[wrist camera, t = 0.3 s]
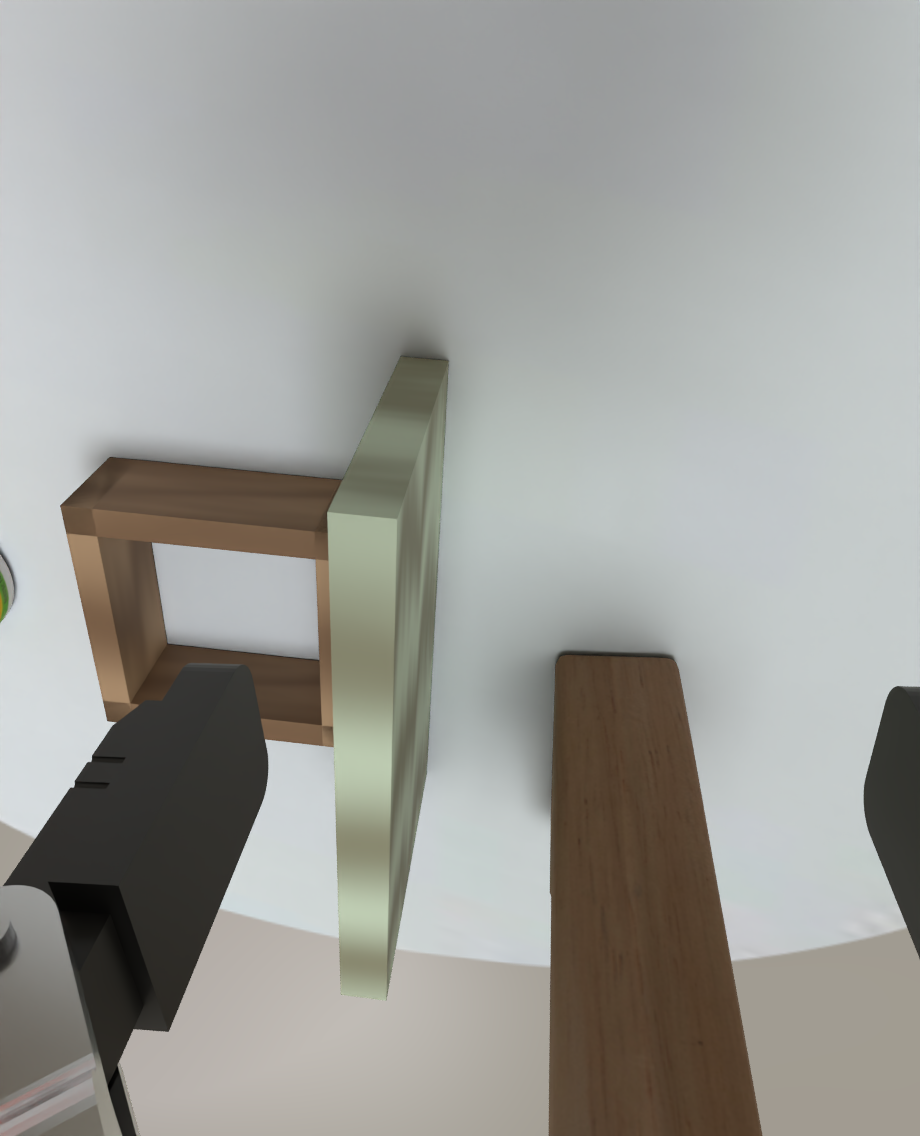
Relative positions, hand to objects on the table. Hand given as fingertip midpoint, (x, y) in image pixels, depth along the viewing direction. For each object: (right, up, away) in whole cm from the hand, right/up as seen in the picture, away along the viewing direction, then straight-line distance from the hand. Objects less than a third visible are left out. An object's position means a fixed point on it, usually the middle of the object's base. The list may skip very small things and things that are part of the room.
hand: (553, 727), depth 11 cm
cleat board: (-8, +1, +21) cm, 22 cm away
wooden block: (+5, -5, +23) cm, 24 cm away
